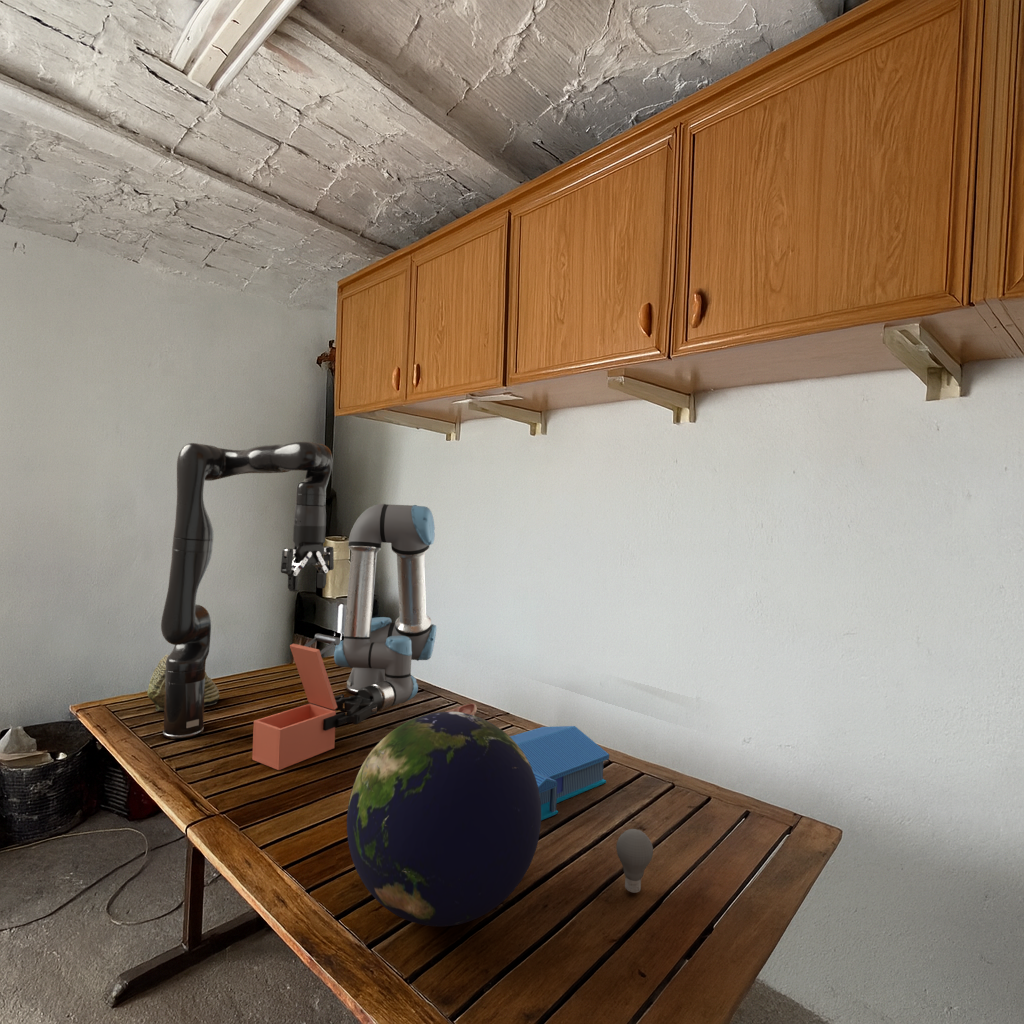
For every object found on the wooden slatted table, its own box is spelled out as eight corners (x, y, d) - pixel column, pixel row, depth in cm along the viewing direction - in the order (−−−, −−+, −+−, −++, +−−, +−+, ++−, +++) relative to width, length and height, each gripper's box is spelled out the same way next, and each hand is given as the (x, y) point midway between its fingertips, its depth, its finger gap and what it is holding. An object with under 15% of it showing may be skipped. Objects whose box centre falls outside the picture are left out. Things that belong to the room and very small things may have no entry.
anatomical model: (424, 710, 178) (437, 698, 190) (423, 724, 179) (436, 711, 190) (469, 715, 176) (480, 702, 187) (469, 729, 176) (479, 716, 187)
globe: (299, 937, 91) (307, 730, 90) (409, 838, 119) (415, 679, 118) (489, 1009, 80) (499, 773, 79) (561, 881, 107) (569, 705, 107)
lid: (315, 652, 153) (341, 633, 160) (289, 645, 158) (315, 627, 165) (334, 710, 159) (358, 689, 166) (308, 702, 164) (332, 682, 171)
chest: (278, 770, 145) (280, 729, 145) (252, 759, 150) (253, 720, 150) (334, 748, 160) (335, 711, 159) (308, 739, 165) (310, 703, 165)
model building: (485, 844, 118) (488, 791, 117) (412, 795, 136) (414, 749, 136) (617, 787, 144) (619, 743, 144) (541, 752, 162) (543, 713, 162)
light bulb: (610, 879, 108) (613, 822, 108) (644, 879, 109) (647, 822, 109) (619, 902, 102) (622, 840, 102) (655, 901, 103) (658, 840, 103)
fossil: (144, 707, 182) (145, 655, 182) (212, 696, 194) (213, 647, 194) (151, 716, 175) (153, 662, 175) (221, 703, 188) (223, 653, 188)
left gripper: (296, 525, 148) (293, 594, 148) (342, 524, 160) (340, 588, 160) (275, 523, 151) (272, 590, 152) (321, 522, 164) (319, 585, 164)
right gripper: (403, 720, 172) (340, 745, 153) (345, 703, 184) (280, 725, 165) (404, 693, 172) (342, 715, 153) (346, 677, 183) (281, 696, 164)
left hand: (307, 589), depth 156 cm, fingers open, 8 cm apart
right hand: (310, 720), depth 159 cm, fingers closed on chest, 10 cm apart
